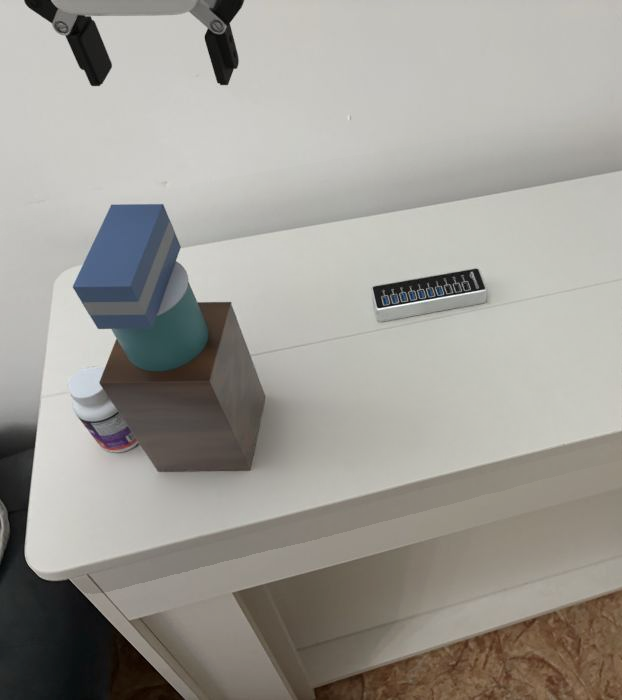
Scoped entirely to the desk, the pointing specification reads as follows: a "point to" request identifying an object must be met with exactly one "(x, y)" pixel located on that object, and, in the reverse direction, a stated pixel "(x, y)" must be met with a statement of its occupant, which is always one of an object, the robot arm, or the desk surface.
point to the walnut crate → (193, 401)
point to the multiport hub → (429, 294)
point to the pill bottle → (99, 411)
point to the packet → (128, 267)
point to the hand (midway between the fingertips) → (164, 76)
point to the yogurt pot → (168, 329)
